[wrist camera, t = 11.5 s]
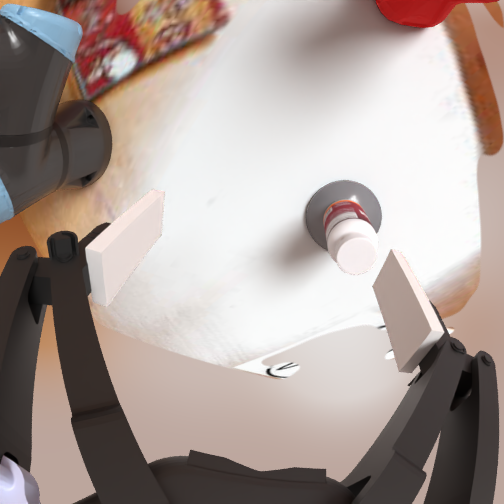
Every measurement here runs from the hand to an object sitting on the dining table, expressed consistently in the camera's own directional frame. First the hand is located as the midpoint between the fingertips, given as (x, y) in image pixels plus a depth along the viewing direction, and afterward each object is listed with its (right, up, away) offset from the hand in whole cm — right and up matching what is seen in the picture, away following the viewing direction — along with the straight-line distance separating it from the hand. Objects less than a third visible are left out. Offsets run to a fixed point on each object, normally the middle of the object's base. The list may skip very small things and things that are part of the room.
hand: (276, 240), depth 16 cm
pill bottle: (+12, +4, +24) cm, 27 cm away
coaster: (+12, +4, +25) cm, 28 cm away
